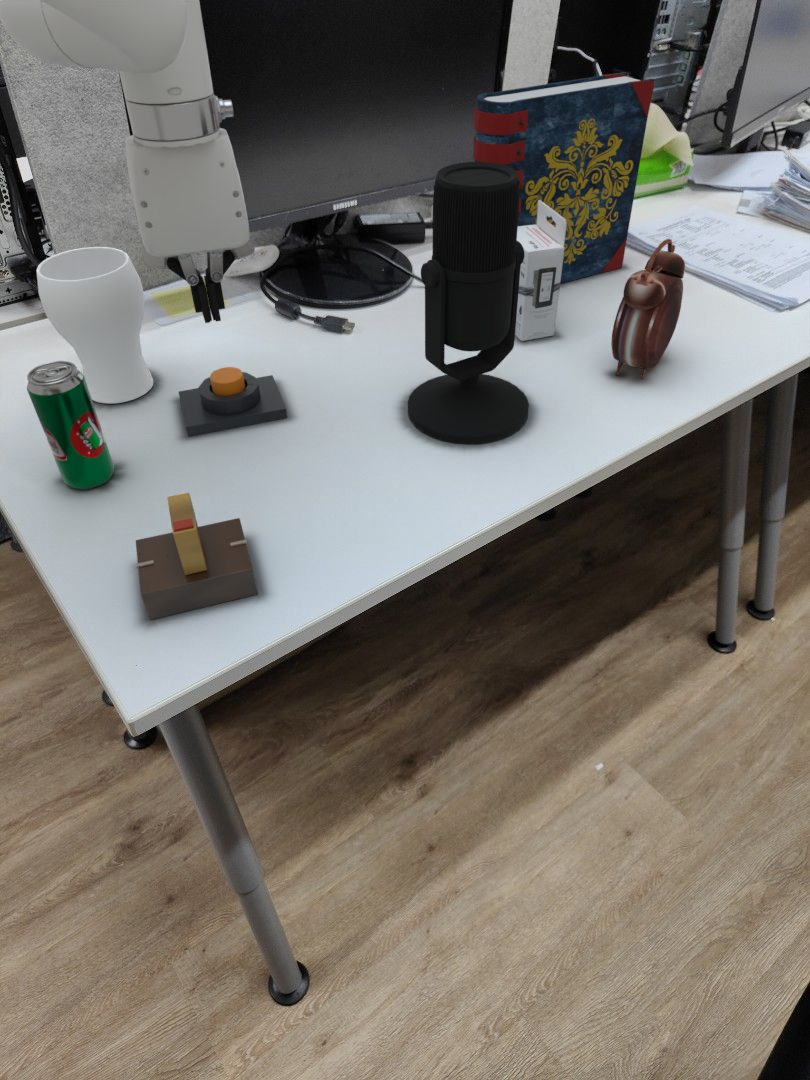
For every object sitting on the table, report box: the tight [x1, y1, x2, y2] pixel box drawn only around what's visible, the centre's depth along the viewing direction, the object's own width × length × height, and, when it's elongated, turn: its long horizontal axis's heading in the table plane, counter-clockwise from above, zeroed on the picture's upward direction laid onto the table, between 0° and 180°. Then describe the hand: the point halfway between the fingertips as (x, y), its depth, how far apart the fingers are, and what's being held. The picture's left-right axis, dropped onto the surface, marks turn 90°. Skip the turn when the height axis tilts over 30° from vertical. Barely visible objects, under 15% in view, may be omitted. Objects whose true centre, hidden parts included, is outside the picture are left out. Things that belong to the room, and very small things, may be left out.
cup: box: [35, 246, 154, 404], centre depth 86 cm, size 11×11×15 cm
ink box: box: [515, 200, 567, 342], centre depth 96 cm, size 8×5×15 cm, turn 17°
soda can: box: [26, 360, 115, 490], centre depth 74 cm, size 5×5×12 cm
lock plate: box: [135, 517, 259, 621], centre depth 65 cm, size 9×7×3 cm
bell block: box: [178, 371, 288, 437], centre depth 86 cm, size 11×8×3 cm
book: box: [472, 71, 655, 285], centre depth 104 cm, size 25×7×25 cm, turn 119°
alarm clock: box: [610, 238, 686, 379], centre depth 87 cm, size 11×5×15 cm, turn 146°
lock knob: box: [166, 492, 207, 575], centre depth 63 cm, size 5×2×5 cm, turn 18°
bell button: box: [209, 366, 245, 396], centre depth 85 cm, size 4×4×2 cm
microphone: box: [407, 161, 530, 445], centre depth 78 cm, size 14×14×25 cm
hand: (211, 316), depth 79 cm, fingers closed
